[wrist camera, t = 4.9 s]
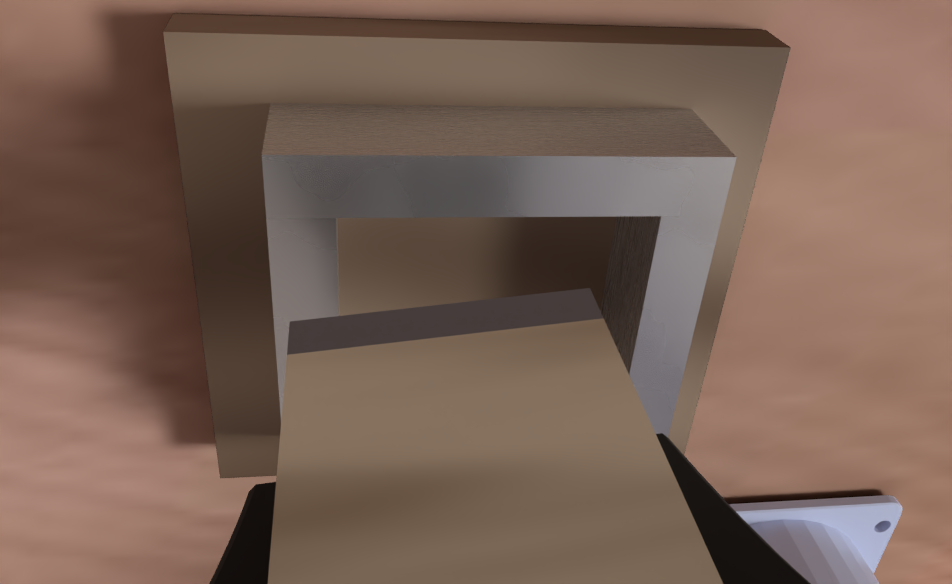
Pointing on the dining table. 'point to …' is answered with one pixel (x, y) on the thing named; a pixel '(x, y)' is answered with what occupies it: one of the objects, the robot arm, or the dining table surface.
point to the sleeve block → (473, 453)
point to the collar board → (461, 185)
